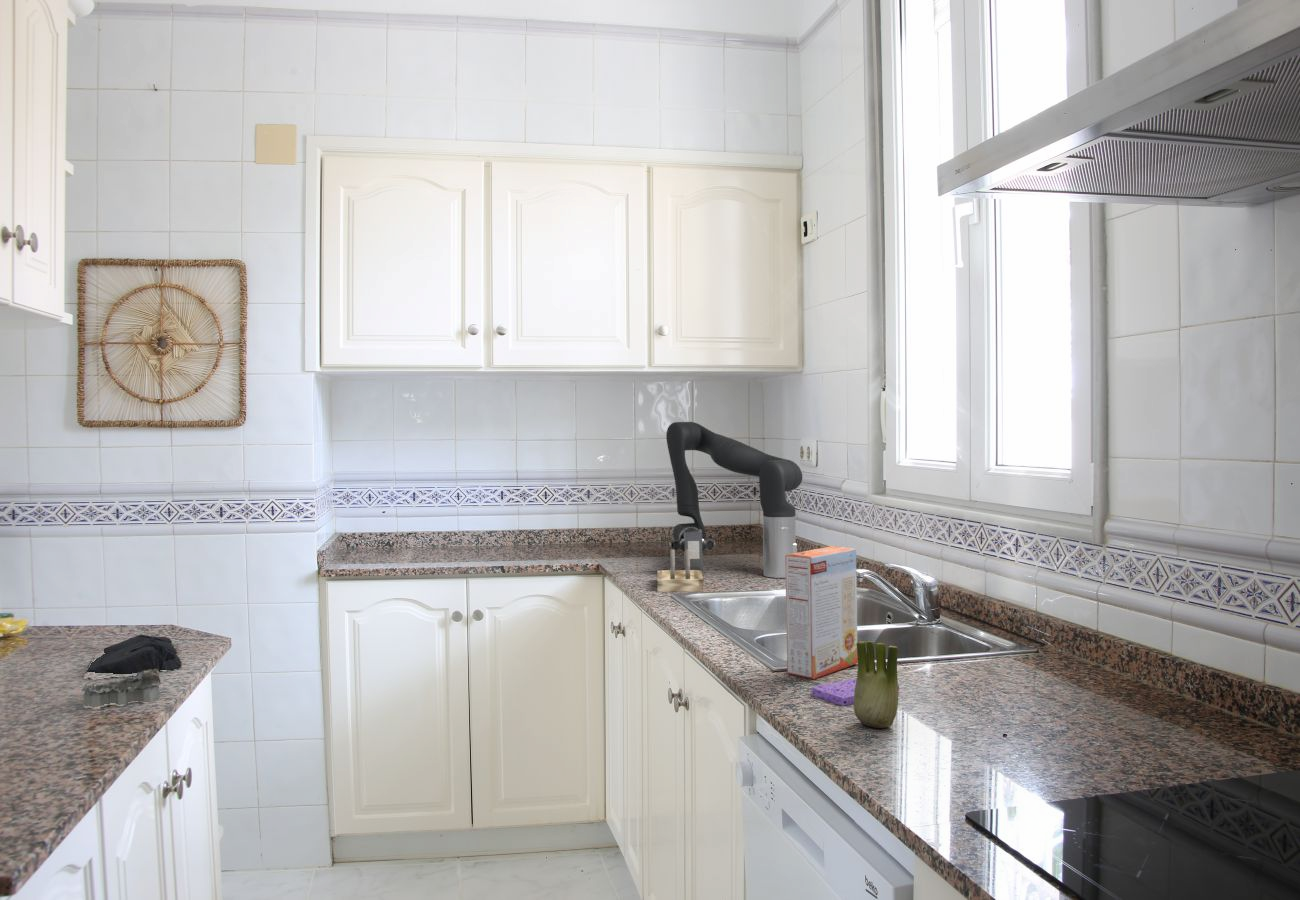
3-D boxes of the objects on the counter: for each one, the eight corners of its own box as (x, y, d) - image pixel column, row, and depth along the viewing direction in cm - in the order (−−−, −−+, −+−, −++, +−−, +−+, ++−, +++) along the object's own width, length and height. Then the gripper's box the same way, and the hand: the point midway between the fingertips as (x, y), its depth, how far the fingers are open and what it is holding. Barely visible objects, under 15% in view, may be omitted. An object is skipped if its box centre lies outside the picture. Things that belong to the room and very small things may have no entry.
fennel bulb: (902, 728, 125) (902, 643, 125) (876, 735, 123) (876, 648, 123) (872, 717, 130) (872, 635, 130) (847, 723, 128) (847, 639, 128)
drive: (701, 567, 259) (700, 529, 259) (702, 571, 252) (702, 532, 252) (684, 567, 259) (683, 529, 259) (685, 571, 252) (684, 532, 252)
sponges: (811, 698, 142) (811, 686, 142) (867, 685, 148) (867, 674, 148) (843, 709, 136) (843, 697, 136) (900, 695, 143) (900, 683, 143)
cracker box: (830, 658, 164) (830, 545, 163) (859, 664, 159) (858, 547, 159) (783, 673, 154) (783, 552, 153) (813, 680, 150) (812, 556, 149)
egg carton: (162, 692, 147) (162, 667, 147) (159, 704, 140) (159, 678, 140) (86, 700, 142) (86, 674, 142) (79, 713, 136) (78, 686, 135)
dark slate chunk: (182, 647, 178) (182, 623, 178) (181, 674, 158) (181, 647, 158) (92, 656, 171) (92, 632, 171) (79, 685, 151) (78, 657, 151)
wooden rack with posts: (700, 580, 249) (700, 543, 249) (703, 591, 233) (703, 551, 233) (657, 581, 249) (657, 543, 249) (657, 591, 233) (657, 551, 233)
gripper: (667, 528, 270) (667, 534, 253) (714, 527, 270) (718, 533, 253) (667, 553, 270) (668, 561, 253) (715, 552, 270) (719, 560, 253)
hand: (693, 547), depth 253 cm, fingers closed on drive, 5 cm apart
